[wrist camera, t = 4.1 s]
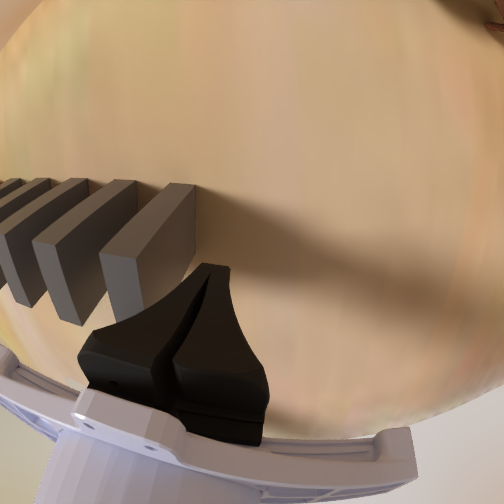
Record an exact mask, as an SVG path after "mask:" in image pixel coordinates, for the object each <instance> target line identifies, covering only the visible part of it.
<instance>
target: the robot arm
mask: <svg viewBox="0 0 504 504" xmlns="http://www.w3.org/2000/svg"><path fill="white" fill-rule="evenodd" d="M229 281H230V268H229V267H228V266H222V265H215V264H208V263H201V264H200V265H199V266H198V267H197V268H196V269H195V270H194V271H193V272H192V273H191V274H190V275H189V276H188V277H187V278H186V279H185V280H184V281H183V282H181V283H180V284H179V285H178V286H177V287H176V288H175V289H173V290H172V291H171V292H170V293H168V294H167V295H166V296H165V297H163V298H162V299H161V300H159V301H158V302H156V303H155V304H153V305H152V306H150V307H149V308H147V309H145V310H143V311H141V312H139V313H138V314H136V315H134V316H132V317H130V318H127V319H125V320H123V321H120V322H118V323H115V324H113V325H110V326H106V327H103V328H100V329H97V330H93V332H92V333H91V334H90V336H89V337H88V339H87V340H86V342H85V344H84V345H83V347H82V349H81V350H80V352H79V354H78V356H77V359H78V363H79V365H80V367H81V369H82V371H83V373H84V374H85V376H86V378H87V379H88V381H89V385H88V387H87V389H84V390H82V391H81V392H79V391H77V390H74V389H72V388H70V387H68V386H65V385H63V384H61V383H59V382H57V381H55V380H53V379H51V378H49V377H47V376H45V375H43V374H41V373H39V372H37V371H35V370H33V369H31V368H29V367H27V366H26V365H24V364H22V363H20V362H19V360H18V358H17V356H16V355H15V354H14V353H13V352H12V351H11V350H10V349H8V348H6V347H5V346H3V345H1V344H0V405H1V406H3V407H4V408H5V409H6V410H8V411H9V412H11V413H12V414H13V415H15V416H16V417H17V418H19V419H20V420H22V421H23V422H25V423H26V424H27V425H29V426H30V427H32V428H34V429H35V430H36V431H38V432H40V433H41V434H42V435H44V436H46V437H47V438H49V439H50V440H52V441H54V442H55V443H56V444H55V446H54V449H53V451H52V454H51V456H50V459H49V461H48V464H47V466H46V469H45V471H44V474H43V477H42V480H41V482H40V485H39V488H38V491H37V494H36V497H35V500H34V503H33V504H297V503H298V504H299V503H315V502H327V501H336V500H343V499H351V498H358V497H364V496H371V495H376V494H382V493H387V492H389V491H391V490H394V489H396V488H398V487H401V486H403V485H405V484H407V483H409V482H411V481H413V480H415V479H417V478H418V472H417V465H416V458H415V453H414V447H413V441H412V436H411V431H410V428H409V427H401V428H392V429H386V430H383V431H380V432H379V433H377V434H376V436H375V437H374V438H363V439H345V440H298V439H279V438H266V437H262V432H263V424H264V418H265V411H266V408H267V405H268V403H269V398H270V395H269V386H268V382H267V378H266V374H265V371H264V368H263V366H262V364H261V363H260V362H259V360H258V359H257V357H256V356H255V354H254V353H253V351H252V349H251V348H250V346H249V344H248V342H247V340H246V338H245V337H244V335H243V333H242V330H241V328H240V326H239V323H238V320H237V318H236V315H235V312H234V308H233V304H232V300H231V295H230V289H229Z"/></svg>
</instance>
